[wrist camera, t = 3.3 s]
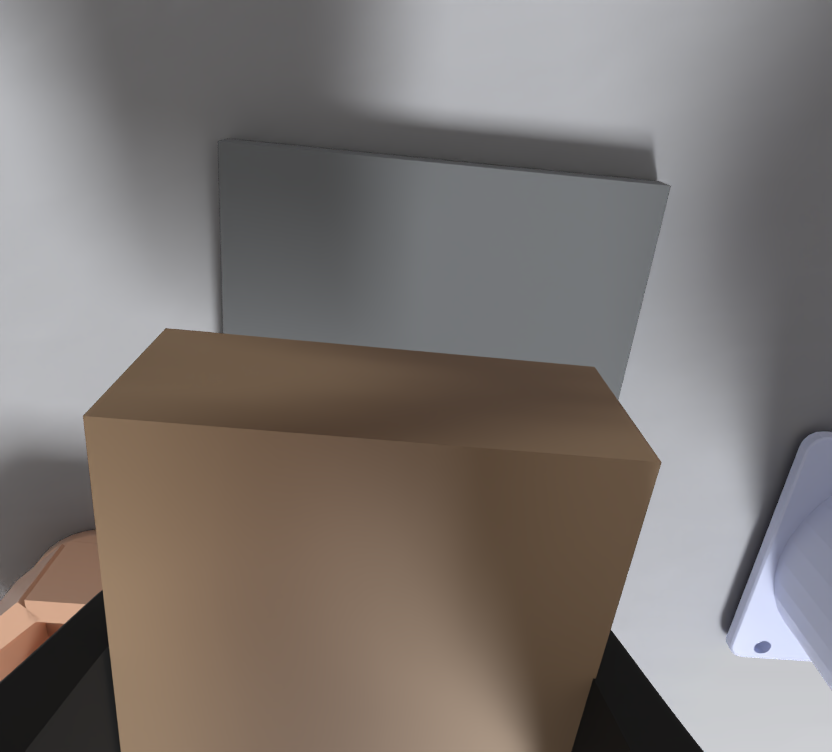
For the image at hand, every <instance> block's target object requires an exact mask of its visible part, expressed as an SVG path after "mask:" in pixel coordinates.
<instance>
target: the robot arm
mask: <svg viewBox="0 0 832 752" xmlns="http://www.w3.org/2000/svg"><path fill="white" fill-rule="evenodd" d="M726 642H727V644H728V646H729V648H730V650H731V652H732V653H733V654H735V655H736V656H741V657H753V658H768V659H783V660H798V661H812V663H813V664H814V666H815V667H816V668H817V670H818V671H819V673H820V674H821V676H822V677H823V678H824V680H825V681H826V683H827V684H828V686H829V687H830V689H831V690H832V432H826V431H821V432H815V433H813V434H810V435H809V436H807V437H806V438H805V439H804V440H803V441H802V443H801V444H800V446H799V449H798V451H797V454H796V457H795V459H794V462H793V465H792V467H791V470H790V472H789V475H788V478H787V480H786V483H785V485H784V488H783V491H782V493H781V496H780V498H779V501H778V504H777V506H776V509H775V512H774V514H773V517H772V519H771V522H770V525H769V527H768V530H767V532H766V535H765V538H764V540H763V543H762V545H761V548H760V551H759V553H758V556H757V558H756V561H755V564H754V566H753V569H752V572H751V574H750V577H749V579H748V582H747V585H746V587H745V590H744V592H743V595H742V598H741V600H740V603H739V605H738V608H737V611H736V613H735V616H734V619H733V621H732V624H731V626H730V629H729V632H728V634H727V637H726ZM759 642H760V643H759ZM0 752H121V748H120V739H119V730H118V721H117V712H116V704H115V695H114V686H113V677H112V668H111V659H110V650H109V642H108V633H107V624H106V615H105V606H104V597H103V590H102V591H100V592H99V593H98V594H97V595H95V596H94V597H93V598H92V599H91V600H90V601H89V602H88V603H87V604H85V605H84V606H83V607H82V608H81V609H80V610H79V611H78V612H77V613H76V614H75V615H73V616H72V617H71V618H70V619H69V620H68V621H67V622H66V623H65V624H64V625H63V626H61V627H60V628H59V629H58V630H57V631H56V632H55V633H54V634H53V635H52V636H51V637H49V638H48V639H47V640H46V641H45V642H44V643H43V644H42V645H41V646H40V647H38V648H37V649H36V650H35V651H34V652H33V653H32V654H31V655H30V656H28V657H27V658H26V659H25V660H24V661H23V662H22V663H21V664H20V665H18V666H17V667H16V668H15V669H14V670H13V671H12V672H11V673H9V674H8V675H7V676H6V677H5V678H4V679H3V680H1V681H0ZM571 752H704V751H703V750H702V749H701V748H700V746H699V745H698V744H697V743H696V741H695V740H694V739H693V738H692V736H691V735H690V734H689V733H688V731H687V730H686V729H685V727H684V726H683V725H682V724H681V722H680V721H679V720H678V718H677V717H676V716H675V714H674V713H673V712H672V711H671V709H670V708H669V707H668V705H667V704H666V703H665V701H664V700H663V699H662V697H661V696H660V695H659V693H658V692H657V691H656V689H655V688H654V687H653V685H652V684H651V683H650V681H649V680H648V679H647V677H646V676H645V675H644V673H643V672H642V671H641V669H640V668H639V667H638V665H637V664H636V663H635V661H634V660H633V659H632V657H631V656H630V655H629V653H628V652H627V651H626V649H625V648H624V647H623V645H622V644H621V643H620V641H619V640H618V639H617V637H616V636H615V635H614V633H613V632H612V631H611V630H610V633H609V637H608V640H607V643H606V646H605V650H604V653H603V656H602V660H601V663H600V666H599V669H598V673H597V676H596V679H594V678H593V681H592V684H591V687H590V691H589V694H588V697H587V701H586V704H585V707H584V711H583V714H582V717H581V721H580V724H579V727H578V731H577V734H576V737H575V741H574V744H573V747H572V751H571Z"/></svg>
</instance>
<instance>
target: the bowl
mask: <svg viewBox="0 0 832 752" xmlns="http://www.w3.org/2000/svg"><path fill="white" fill-rule="evenodd" d="M102 590H103V589H102V580H101V571H100V562H99V553H98V544H97V535H96V530H89V531H84V532H80V533H77V534H74V535H71V536H68V537H66V538H64V539H62V540H60V541H59V542H57V543H56V544H54V545H53V546H52V547H50V548H49V549H48V550H47V551H46V552H45V553H44V555H43V556H42V557H41V558H40V560H39V561H38V562H37V563H36V565H35V566H34V567H33V568H32V569H31V570H29V571H28V572H27V573H26V574H24V575H23V576H22V577H21V578H20V579H18V580H17V581H16V582H15V584H14V585H13V586H12V587H11V589H10V590H9V591H8V592H7V594H6V595H5V596H4V597H3V599H2V600H1V601H0V681H1V680H3V679H4V678H5V677H6V676H7V675H8V674H9V673H11V672H12V671H13V670H14V669H15V668H16V667H17V666H18V665H20V664H21V663H22V662H23V661H24V660H25V659H26V658H27V657H28V656H30V655H31V654H32V653H33V652H34V651H35V650H36V649H37V648H38V647H40V646H41V645H42V644H43V643H44V642H45V641H46V640H47V639H48V638H49V637H51V636H52V635H53V634H54V633H55V632H56V631H57V630H58V629H59V628H60V627H61V626H63V625H64V624H65V623H66V622H67V621H68V620H69V619H70V618H71V617H72V616H73V615H75V614H76V613H77V612H78V611H79V610H80V609H81V608H82V607H83V606H84V605H85V604H87V603H88V602H89V601H90V600H91V599H92V598H93V597H94V596H95V595H97V594H98V593H99V592H100V591H102Z"/></svg>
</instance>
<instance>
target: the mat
mask: <svg viewBox="0 0 832 752" xmlns="http://www.w3.org/2000/svg"><path fill="white" fill-rule="evenodd" d="M218 165H219V201H220V238H221V275H222V311H223V333H224V334H235V335H246V336H257V337H268V338H279V339H290V340H302V341H313V342H324V343H335V344H346V345H357V346H368V347H379V348H391V349H402V350H413V351H424V352H435V353H446V354H457V355H469V356H480V357H491V358H502V359H513V360H524V361H535V362H546V363H558V364H569V365H580V366H591V367H595V368H596V370H597V371H598V372H599V374H600V375H601V377H602V378H603V380H604V381H605V382H606V384H607V385H608V387H609V388H610V390H611V391H612V392H613V394H614V395H615V397H616V398H617V400H618V399H619V395H620V391H621V387H622V383H623V378H624V374H625V370H626V366H627V362H628V358H629V354H630V350H631V346H632V342H633V338H634V334H635V330H636V325H637V321H638V317H639V313H640V309H641V305H642V301H643V297H644V293H645V289H646V285H647V281H648V277H649V272H650V268H651V264H652V260H653V256H654V252H655V248H656V244H657V240H658V236H659V232H660V228H661V223H662V219H663V215H664V211H665V207H666V203H667V199H668V195H669V191H670V187H671V186H670V185H667V184H664V183H662V182H659V181H652V180H641V179H631V178H621V177H611V176H601V175H591V174H581V173H570V172H560V171H550V170H540V169H530V168H520V167H510V166H500V165H489V164H479V163H469V162H459V161H449V160H439V159H429V158H418V157H408V156H398V155H388V154H378V153H368V152H358V151H347V150H337V149H327V148H317V147H307V146H297V145H287V144H277V143H266V142H256V141H246V140H236V139H224V140H221V141H218Z"/></svg>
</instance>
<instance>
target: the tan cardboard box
mask: <svg viewBox="0 0 832 752" xmlns="http://www.w3.org/2000/svg"><path fill="white" fill-rule="evenodd" d="M83 420H84V429H85V438H86V447H87V456H88V465H89V474H90V482H91V491H92V500H93V509H94V518H95V527H96V535H97V544H98V553H99V562H100V571H101V580H102V589H103V597H104V606H105V615H106V624H107V633H108V642H109V650H110V659H111V668H112V677H113V686H114V695H115V704H116V712H117V721H118V730H119V739H120V748H121V752H571V751H572V747H573V744H574V741H575V737H576V734H577V731H578V727H579V724H580V721H581V717H582V714H583V711H584V707H585V704H586V701H587V697H588V694H589V691H590V687H591V684H592V681H593V678H594V679H596V676H597V673H598V669H599V666H600V663H601V660H602V656H603V653H604V650H605V646H606V643H607V640H608V637H609V633H610V630H611V627H612V623H613V620H614V617H615V614H616V610H617V607H618V604H619V600H620V597H621V594H622V590H623V587H624V584H625V581H626V577H627V574H628V571H629V567H630V564H631V561H632V558H633V554H634V551H635V548H636V544H637V541H638V538H639V535H640V531H641V528H642V525H643V521H644V518H645V515H646V511H647V508H648V505H649V502H650V498H651V495H652V492H653V488H654V485H655V482H656V479H657V475H658V472H659V469H660V465H661V461H660V459H659V458H658V457H657V455H656V454H655V452H654V451H653V450H652V448H651V447H650V445H649V444H648V442H647V441H646V440H645V438H644V437H643V435H642V434H641V432H640V431H639V430H638V428H637V427H636V425H635V424H634V422H633V421H632V420H631V418H630V417H629V415H628V414H627V412H626V411H625V410H624V408H623V407H622V405H621V404H620V402H619V401H618V400H617V398H616V397H615V395H614V394H613V392H612V391H611V390H610V388H609V387H608V385H607V384H606V382H605V381H604V380H603V378H602V377H601V375H600V374H599V372H598V371H597V370H596V368H595V367H591V366H580V365H569V364H558V363H546V362H535V361H524V360H513V359H502V358H491V357H480V356H469V355H457V354H446V353H435V352H424V351H413V350H402V349H391V348H379V347H368V346H357V345H346V344H335V343H324V342H313V341H302V340H290V339H279V338H268V337H257V336H246V335H235V334H224V333H212V332H201V331H190V330H179V329H168V328H166V329H165V330H164V331H163V332H162V333H161V334H160V335H159V336H158V337H157V338H156V339H155V340H154V341H153V342H152V343H151V345H150V346H149V347H148V348H147V349H146V350H145V351H144V352H143V353H142V354H141V355H140V356H139V357H138V358H137V359H136V360H135V361H134V363H133V364H132V365H131V366H130V367H129V368H128V369H127V370H126V371H125V372H124V373H123V374H122V375H121V376H120V377H119V378H118V379H117V381H116V382H115V383H114V384H113V385H112V386H111V387H110V388H109V389H108V390H107V391H106V392H105V393H104V394H103V395H102V396H101V397H100V398H99V400H98V401H97V402H96V403H95V404H94V405H93V406H92V407H91V408H90V409H89V410H88V411H87V412H86V413H85V414H84V415H83Z"/></svg>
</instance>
